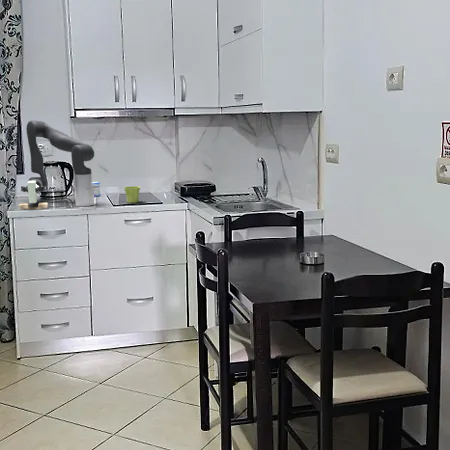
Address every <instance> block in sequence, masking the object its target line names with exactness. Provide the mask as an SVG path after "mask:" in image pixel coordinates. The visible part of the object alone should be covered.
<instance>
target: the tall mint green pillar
mask: <svg viewBox="0 0 450 450" xmlns="http://www.w3.org/2000/svg"><path fill="white" fill-rule="evenodd" d="M28 181H29V180H28ZM28 181H27V185H28V193H27V194H28V203H29V204H37V202H38V194H37V192H35V188H36V181H29V182H28Z"/></svg>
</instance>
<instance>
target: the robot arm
mask: <svg viewBox="0 0 450 450" xmlns="http://www.w3.org/2000/svg"><path fill="white" fill-rule="evenodd" d="M25 128H26V129H25V130H26V136H27V142H28V147H29V153H30V172H31V173H33V174H38V175H39V176H36V177H35V176H32V177H30V178H28V181H27V183H28V182H29V181H36V188H35V192H37V195H38V194H39V193H40V192H45V191H47V187H48V181H47V178H46V173H45V170H44V156H43V154H42V151H41V149H40V148H39V146H38V142H37V138H44V139H46V140H48V141H49V144H50V145H51V146H53V148H56V149H57V150H60V151H63V152H67V153H71V154H70V155H71V163H72V170H73V174H74V176H73V177H74V194H75V195H74V196H75V206H76V207H90V206H94V205H95V197H94V188H93V187H92V182H93V180H92V179H93V177H92V175H93V174H92V169H91V168H90V167H87V166H86V165H85V162H90V161H92V160H93V158H94V157H95V150H94V149H93V147H92V146H91V145H89V144H87V143H84V142H81V141H79V140H77V139H76V138H73V137H71V136H69V135H68V134H66V133H64V132H62V131H59V130H57V129H55V128H53V127H51V126H50V125H48V124H47V123H46V122H45V121H43V120H42V121H41V120H29V121H28V122H27V124H26V127H25ZM20 191H21V192H23V193H27V194H28V184H27V186H23V185H21V186H20Z"/></svg>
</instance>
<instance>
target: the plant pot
mask: <svg viewBox="0 0 450 450" xmlns="http://www.w3.org/2000/svg"><path fill="white" fill-rule="evenodd" d="M141 188H142V187H141V186H138V185H137V186H135V185H134V186H133V185H131V186H124V187H123V189H124V191H125V196H126V201H127V203H128V204H136V203H139V199H140V190H141Z"/></svg>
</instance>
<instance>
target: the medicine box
mask: <svg viewBox="0 0 450 450" xmlns="http://www.w3.org/2000/svg"><path fill="white" fill-rule="evenodd" d="M92 187H93V188H94V198H97V196H98V197H101V196H102V194H101V182H100V181H92Z"/></svg>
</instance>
